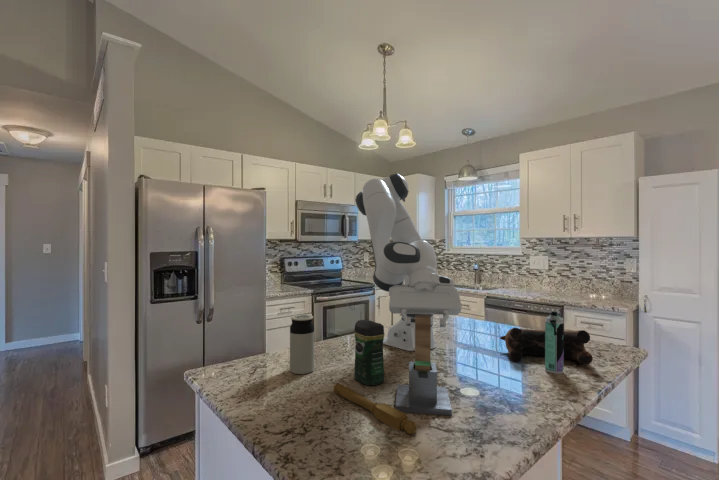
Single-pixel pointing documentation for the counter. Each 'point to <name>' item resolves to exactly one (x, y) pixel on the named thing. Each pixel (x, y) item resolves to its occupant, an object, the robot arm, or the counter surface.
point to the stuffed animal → (534, 344)
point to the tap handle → (378, 410)
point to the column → (422, 342)
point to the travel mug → (301, 344)
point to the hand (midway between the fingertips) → (425, 325)
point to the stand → (423, 393)
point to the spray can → (554, 343)
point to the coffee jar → (369, 352)
